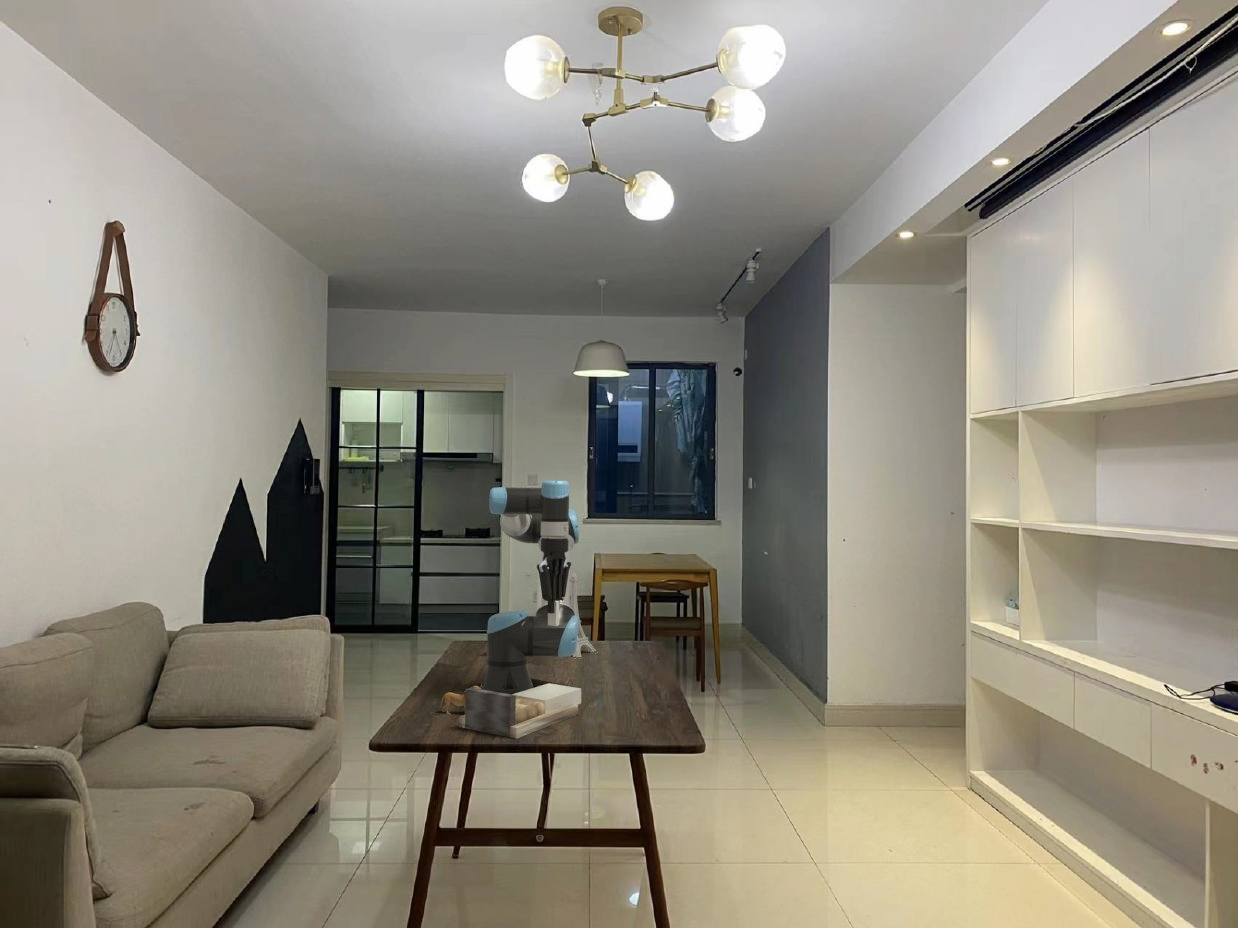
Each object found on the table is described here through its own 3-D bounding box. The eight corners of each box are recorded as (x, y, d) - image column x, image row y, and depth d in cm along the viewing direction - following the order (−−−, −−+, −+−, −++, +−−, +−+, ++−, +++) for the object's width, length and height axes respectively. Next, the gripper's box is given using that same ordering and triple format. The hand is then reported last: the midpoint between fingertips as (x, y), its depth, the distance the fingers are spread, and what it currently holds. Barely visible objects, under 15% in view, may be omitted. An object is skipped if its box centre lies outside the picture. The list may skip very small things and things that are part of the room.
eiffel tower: (578, 660, 294) (579, 574, 295) (547, 656, 301) (548, 571, 302) (598, 654, 306) (599, 571, 307) (568, 650, 313) (569, 569, 314)
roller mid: (500, 697, 217) (500, 713, 218) (490, 701, 214) (490, 717, 214) (536, 704, 211) (537, 720, 211) (526, 708, 207) (527, 725, 208)
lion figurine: (482, 712, 223) (482, 684, 223) (479, 716, 219) (480, 687, 219) (436, 711, 223) (437, 683, 223) (433, 716, 218) (434, 687, 219)
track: (458, 727, 208) (459, 688, 209) (523, 705, 230) (523, 670, 231) (516, 738, 199) (517, 698, 199) (578, 714, 221) (578, 678, 221)
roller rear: (497, 698, 218) (507, 694, 221) (498, 713, 218) (508, 709, 222) (534, 705, 212) (544, 700, 215) (535, 720, 212) (545, 715, 215)
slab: (511, 709, 221) (511, 694, 222) (548, 697, 235) (548, 683, 235) (545, 716, 215) (545, 700, 216) (581, 703, 229) (581, 688, 229)
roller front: (490, 704, 214) (487, 720, 213) (480, 702, 211) (477, 718, 210) (528, 710, 208) (525, 727, 207) (518, 709, 205) (515, 726, 204)
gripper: (551, 538, 221) (550, 629, 220) (579, 537, 232) (578, 623, 231) (528, 537, 225) (527, 627, 224) (557, 536, 236) (556, 621, 235)
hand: (553, 625), depth 227 cm, fingers closed
